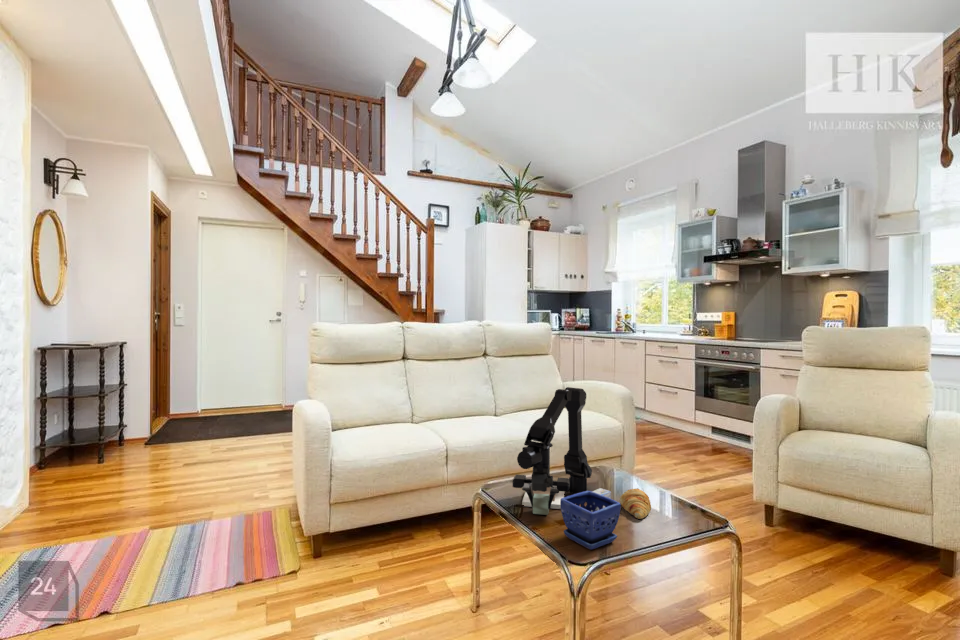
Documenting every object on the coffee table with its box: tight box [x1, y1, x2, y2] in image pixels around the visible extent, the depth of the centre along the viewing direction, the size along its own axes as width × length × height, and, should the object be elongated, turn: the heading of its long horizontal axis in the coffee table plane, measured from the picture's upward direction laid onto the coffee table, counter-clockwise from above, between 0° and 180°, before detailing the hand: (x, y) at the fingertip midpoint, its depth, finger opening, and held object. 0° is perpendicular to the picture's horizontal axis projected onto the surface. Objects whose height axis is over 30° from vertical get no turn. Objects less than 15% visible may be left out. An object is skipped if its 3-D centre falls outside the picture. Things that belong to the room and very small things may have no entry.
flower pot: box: [560, 490, 622, 550], centre depth 145 cm, size 13×13×12 cm
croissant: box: [618, 488, 652, 520], centre depth 169 cm, size 21×10×8 cm, turn 171°
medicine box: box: [591, 487, 612, 512], centre depth 161 cm, size 8×4×9 cm, turn 134°
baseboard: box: [521, 487, 565, 510], centre depth 177 cm, size 14×14×4 cm
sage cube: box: [532, 493, 550, 516], centre depth 165 cm, size 5×5×5 cm
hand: (541, 508), depth 165 cm, fingers closed on sage cube, 5 cm apart
